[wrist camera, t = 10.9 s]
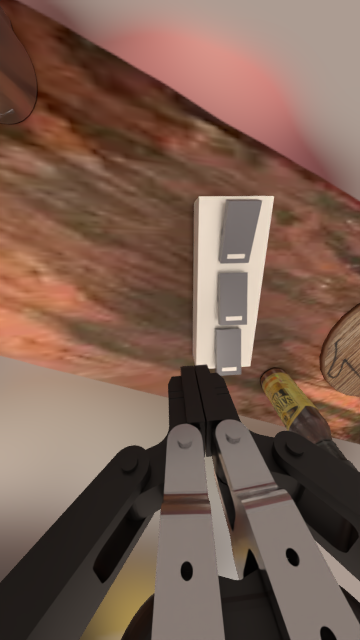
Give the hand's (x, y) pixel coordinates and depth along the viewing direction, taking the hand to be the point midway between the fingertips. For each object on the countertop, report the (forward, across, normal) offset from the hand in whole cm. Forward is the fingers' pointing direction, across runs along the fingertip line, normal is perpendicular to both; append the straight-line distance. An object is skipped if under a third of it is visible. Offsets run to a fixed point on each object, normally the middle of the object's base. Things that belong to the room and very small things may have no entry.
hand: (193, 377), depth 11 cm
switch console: (+26, -8, +3) cm, 27 cm away
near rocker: (+20, -9, -7) cm, 23 cm away
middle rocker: (+20, -8, +3) cm, 22 cm away
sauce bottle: (+25, -21, +24) cm, 40 cm away
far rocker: (+20, -8, +12) cm, 24 cm away
